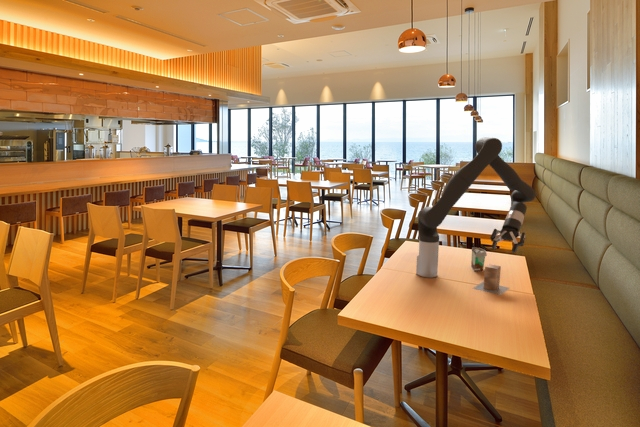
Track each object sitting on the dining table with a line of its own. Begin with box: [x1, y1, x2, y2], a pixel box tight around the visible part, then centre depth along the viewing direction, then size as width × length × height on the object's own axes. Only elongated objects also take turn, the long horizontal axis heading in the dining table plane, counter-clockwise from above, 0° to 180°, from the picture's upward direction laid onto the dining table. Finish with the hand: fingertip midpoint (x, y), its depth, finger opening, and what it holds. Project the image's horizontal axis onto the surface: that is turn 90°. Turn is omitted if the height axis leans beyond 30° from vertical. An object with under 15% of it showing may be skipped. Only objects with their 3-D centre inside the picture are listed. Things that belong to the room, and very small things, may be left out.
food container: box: [470, 246, 488, 273], centre depth 208 cm, size 12×6×10 cm, turn 168°
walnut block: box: [483, 263, 501, 291], centre depth 180 cm, size 5×5×10 cm
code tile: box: [472, 281, 510, 296], centre depth 181 cm, size 12×12×1 cm
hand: (503, 250), depth 187 cm, fingers open, 8 cm apart
